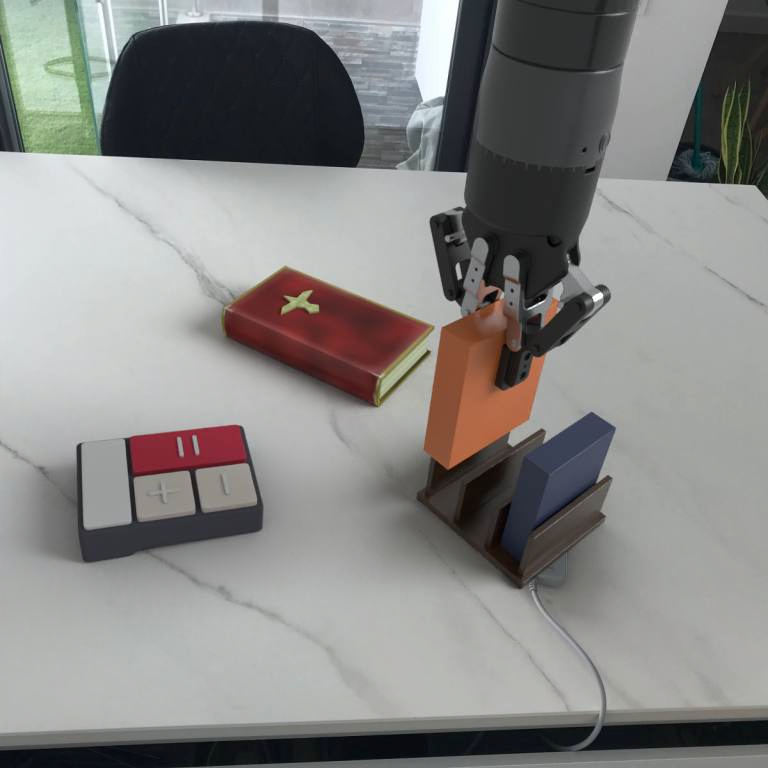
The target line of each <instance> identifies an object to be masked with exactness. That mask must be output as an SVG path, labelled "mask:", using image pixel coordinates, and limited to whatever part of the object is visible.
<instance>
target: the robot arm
mask: <svg viewBox="0 0 768 768" xmlns="http://www.w3.org/2000/svg"><path fill="white" fill-rule="evenodd" d="M640 4H641V0H497V5H496V10H495V16H494V17H495V18H494V24H493V29H492V30H493V31H492V37H491V43H490V49H489V53H488V57H487V61H486V64H485V68H484V71H483V74H482V78H481V81H480V86H479V91H478V97H477V104H476V111H475V118H474V124H473V130H472V138H471V144H470V149H469V150H470V152H469V157H468V164H467V170H466V171H467V172H466V177H465V185H464V190H463V199H464V204H465V205H466V206H465V207H463V206H457V207H454V208H451V209H448V210H445V211H442V212H439V213H437V214H433V215H431V216H430V218H429V223H428V224H429V228H430V233H431V237H432V243H433V248H434V253H435V259H436V262H437V268H438V272H439V277H440V283H441V288H442V292H443V296H444V298H445V299H446V300H447V301H448V302H456V304H457V305H458V306H459V307H460V310H459V311H460V315H461V318H463V317H465V316H467V315H469V314H471V313H473V312H475V311H477V310H479V309H482V308H484V307H486V306H488V305H490V304H492V303H494V302H496V301H498V300H500V299H501V296H502V294H503V298H504V303H503V315H504V316H505V317H507V330H506V344H504V345H503V346H502V351H501V356H500V360H499V365H498V370H497V375H496V379H495V386H496V387H498V388H499V389H501V390H502V391H505V390H507V389H509V388H510V387H511V388H512V387H514V386H516V385H517V384H519V383H521V382H523V381H524V380H525V379H526V378H527V377H528V376H529V372H530V368H531V363H532V359H533V356H534V357H541V356H543V355H545V354H546V355H547V353H548V352H550V351H553V350H554V349H556V348H559V347H561V346H563V345H564V344H566V343H567V342H569V340H570V339H571V338H572V337H573V336H574V335H575V334H577V332H579V331H580V330H581V329H582V327H584V326H585V325H586V324H587V323H588V322H589V321H591V319H592V318H593V317H594V316H595V315H596V314H598V313H599V312H600V311H601V310H602V309H603V308H604V307H605V306H606V305H607V304H608V303H609V302H610V301H611V298H612V293H611V290H610V288H609V287H608V286H607V285H605V284H597V285H595V286H594V284H593V283H592V282H591V281H590V279H589V278H588V277H587V276H586V274H585V273H584V272H583V271H582V269H581V268H580V265H581V260H582V256H581V250H580V249H581V248H580V237H581V234H582V231H583V229H584V227H585V225H586V223H587V221H588V219H589V215H590V213H591V208H592V205H593V201H594V197H595V193H596V189H597V185H598V182H599V178H600V174H601V172H602V167H603V164H604V159H605V157H606V152H607V149H608V146H609V144H610V141H611V137H612V129H613V126H614V123H615V119H616V116H617V115H616V114H617V109H618V105H619V99H620V91H621V83H622V75H623V71H624V70H623V69H624V66H625V60H626V58H627V54H628V51H629V46H630V42H631V38H632V34H633V31H634V26H635V23H636V19H637V16H638V11H639V7H640ZM457 265H459V270H460V271H459V272H460V275H461V278H459V279H458V273H457ZM560 283H561V284H562V288H563V289H562V293H561V294H560V295H559V300H558V301H559V302H558V303H557V305H558V309H560V310H559V311H557V314H556V315H555V316H554V317H553V318H552V319H551V320H550V321H549V322H548V323H547V324H546V325H545V318H546V312H547V310H548V308H549V307H550V306H551V303H552V297H553V295H554V287H556V286H557V285H558V284H560Z"/></svg>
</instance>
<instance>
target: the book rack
mask: <svg viewBox="0 0 768 768" xmlns="http://www.w3.org/2000/svg"><path fill="white" fill-rule="evenodd" d="M510 435H511V431H510V432H508V433H507V434H505V435H503V436H502V437H500V438H499V439H497V440H495V441H494V442H492V443H491V444H489V445H487V446H486V447H484V448H483V449H481V450H479V451H478V452H476V453H475V454H473V455H471V456H470V457H468V458H466V459H465V460H463V461H462V462H460V463H458V464H457V465H455V466H454V467H452V468H450V469H449V470H447V469H446V468H445V467H444V466H442V465H441V464H440V463H439V462H438V461H436V460H435V459H434V458H433V457H431V456H430V459H429V465H428V472H427V478H426V485H425V487H423V488H422V489H421V490H419V491H417V493H416V499H417V500H418V501H420V503H422V504H423V506H424V507H426V508H427V509H428V510H429V511H431V512H432V513H433V514H434V515H435V516H437V517H438V518H439V519H440V520H441V521H442V522H443V523H445V524H446V526H448V527H449V528H451V530H453V531H454V532H455V533H456V534H457V536H459V537H460V538H462V539H463V540H464V541H465V542H466V543H468V544H469V545H470V546H471V548H473V549H474V550H476V551H477V552H478V553H479V554H480V555H482V556H483V558H485V559H486V560H487V561H488V562H489V563H491V564H492V565H493V566H494V567H495V568H496V569H498V570H499V572H501V573H502V574H503V575H504V576H505V577H507V578H508V580H510V581H511V582H512V583H513V584H515V586H517V587H518V588H519V589H521V590H522V589H524V587H526V586H527V585H528V584H530V583H531V582H532V581H533V580H534V579H536V578H537V577H538V576H540V575H541V574H542V573H543V572H544V571H546V570H547V569H548V568H549V567H551V566H552V565H553V564H554V563H556V562H557V561H558V560H559V559H561V558H562V557H563V556H564V555H565V554H566V553H568V552H569V551H570V550H572V549H573V548H574V547H575V546H577V545H578V544H579V543H580V542H581V541H582V540H584V539H585V538H586V537H588V536H589V535H590V534H591V533H592V532H594V531H595V530H596V529H598V528H599V527H600V526H602V524H604V523H605V521H606V519H607V515H606V514H604V513H603V512H601V511H602V508H603V506H604V503H605V500H606V498H607V495H608V493H609V491H610V487H611V485H612V483H613V480H614V478H613V477H612V476H610V475H609V474H607V475H606V476H604V477H603V478H601V479H600V480H599V481H597V482H596V484H595V485H594V486H592V487H591V488H590V489H588V490H587V491H586V492H584V493H583V494H582V495H581V496H579V497H578V498H577V499H575V500H574V501H573V502H571V503H570V504H569V505H567V506H566V507H565V508H563V509H562V510H561V511H559V512H558V513H557V514H555V515H554V516H553V517H551V518H550V519H549V520H547V521H546V522H545V523H544V524H542V525H541V526H540V527H538V528H537V529H536V530H534V531H533V532H532V533H530V534H529V536H528V539H527V542H526V546H525V549H524V552H523V556H522V559H521V562H520V561H518V560H517V559H516V558H515V557H514V556H512V555H511V554H510V553H509V552H508V551H507V550H505V549H504V548H503V547H502V546H501V545H500V543H501V539H502V535H503V532H504V528H505V524H506V521H507V517H508V513H509V510H510V506H511V502H512V499H513V495H514V491H515V488H516V484H517V480H518V477H519V473H520V469H521V465H522V462H523V458H524V456H526V455H527V454H529V453H530V452H532V451H533V450H535V449H536V448H538V447H539V446H541V445H542V444H544V443H545V442H544V441H545V437H546V435H547V430H546V429H544V428H543V427H541V428H540V429H538V430H536V431H535V432H534V433H531V434H530V435H528V436H527V437H526V438H524V439H523V440H521V441H520V442H518V443H516V444H515V445H514V446H512V444H510V443H509V439H510Z"/></svg>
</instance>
